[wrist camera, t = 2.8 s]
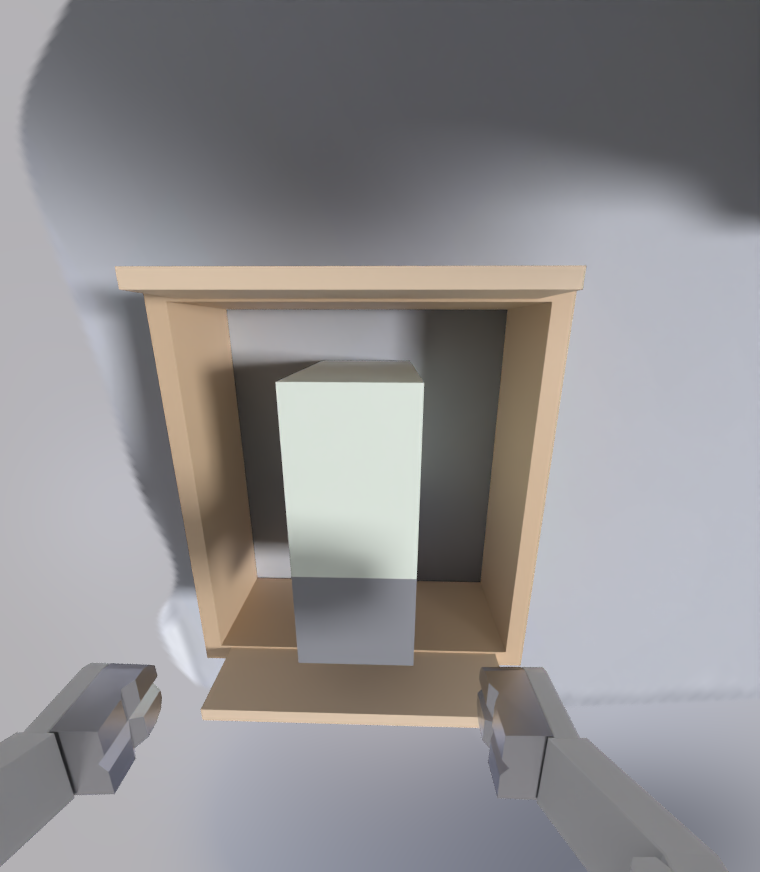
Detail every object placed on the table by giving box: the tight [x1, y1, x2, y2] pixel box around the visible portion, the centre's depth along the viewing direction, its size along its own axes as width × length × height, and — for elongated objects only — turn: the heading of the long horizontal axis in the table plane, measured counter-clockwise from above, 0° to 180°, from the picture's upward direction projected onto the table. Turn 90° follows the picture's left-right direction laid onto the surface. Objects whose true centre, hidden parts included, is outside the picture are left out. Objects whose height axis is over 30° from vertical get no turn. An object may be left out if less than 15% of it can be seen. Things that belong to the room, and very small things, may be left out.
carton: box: [115, 266, 586, 728], centre depth 16 cm, size 16×18×8 cm
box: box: [275, 360, 424, 666], centre depth 16 cm, size 4×11×8 cm, turn 0°
